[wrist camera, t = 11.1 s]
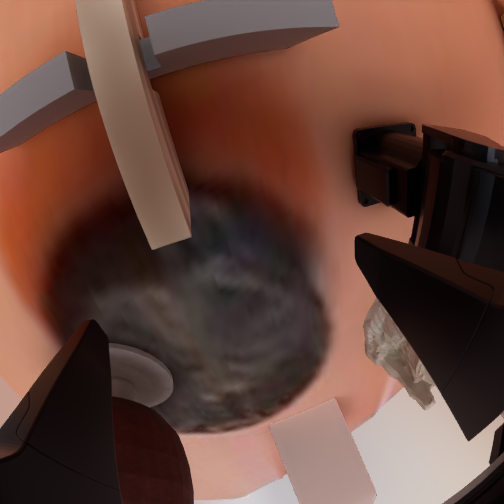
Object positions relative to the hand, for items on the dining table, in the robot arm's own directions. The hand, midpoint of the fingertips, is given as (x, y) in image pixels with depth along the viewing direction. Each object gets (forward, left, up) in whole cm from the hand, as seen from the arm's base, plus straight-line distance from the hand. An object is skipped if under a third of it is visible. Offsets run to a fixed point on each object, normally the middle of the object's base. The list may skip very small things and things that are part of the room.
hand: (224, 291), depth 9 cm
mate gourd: (+15, +17, -12) cm, 26 cm away
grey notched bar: (+2, -9, -12) cm, 15 cm away
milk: (-4, +44, -12) cm, 46 cm away
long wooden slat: (+2, -9, -12) cm, 15 cm away
